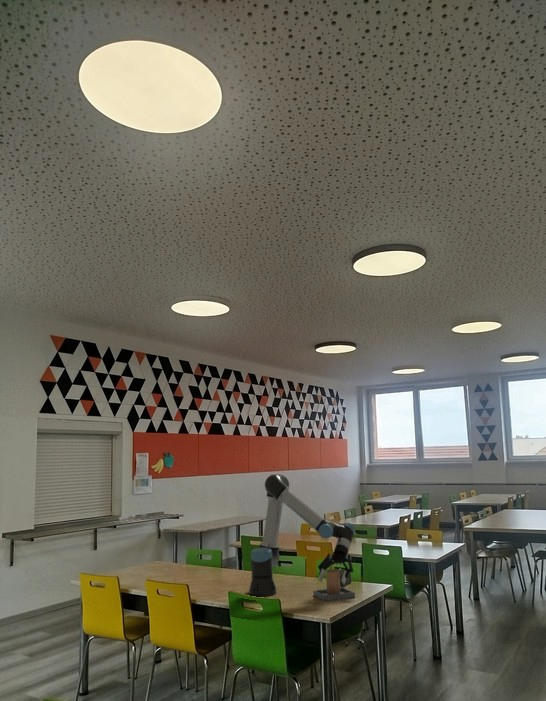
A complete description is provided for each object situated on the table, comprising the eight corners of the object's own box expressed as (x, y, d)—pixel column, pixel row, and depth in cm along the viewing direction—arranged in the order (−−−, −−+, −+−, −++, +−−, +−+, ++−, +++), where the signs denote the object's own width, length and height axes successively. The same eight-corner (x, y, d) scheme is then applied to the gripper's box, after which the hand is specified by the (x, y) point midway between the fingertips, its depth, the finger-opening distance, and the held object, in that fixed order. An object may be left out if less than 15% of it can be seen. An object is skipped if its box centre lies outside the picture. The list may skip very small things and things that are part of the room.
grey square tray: (313, 595, 299) (313, 590, 300) (343, 592, 304) (343, 587, 305) (323, 600, 286) (323, 595, 286) (355, 597, 291) (354, 592, 291)
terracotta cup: (325, 594, 297) (323, 569, 300) (337, 593, 299) (335, 568, 302) (330, 596, 291) (328, 571, 294) (342, 595, 293) (341, 570, 296)
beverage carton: (327, 588, 319) (327, 575, 321) (339, 582, 336) (338, 570, 337) (341, 588, 316) (340, 576, 317) (351, 582, 333) (351, 570, 334)
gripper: (365, 553, 306) (355, 588, 290) (324, 551, 319) (313, 584, 303) (360, 544, 302) (350, 578, 287) (319, 543, 315) (308, 575, 300)
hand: (331, 581), depth 295 cm, fingers open, 13 cm apart
